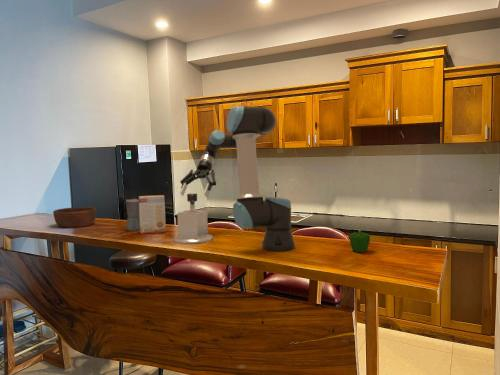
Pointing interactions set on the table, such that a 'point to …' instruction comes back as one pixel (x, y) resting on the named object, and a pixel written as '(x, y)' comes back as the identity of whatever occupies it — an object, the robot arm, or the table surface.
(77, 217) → the wooden bowl
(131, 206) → the moka pot
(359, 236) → the bell pepper
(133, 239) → the table surface
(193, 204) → the plunger
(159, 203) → the cracker box
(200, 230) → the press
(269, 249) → the robot arm
